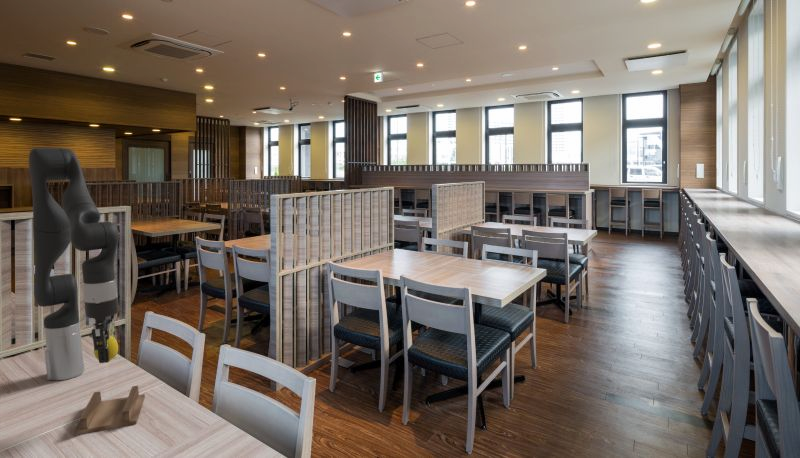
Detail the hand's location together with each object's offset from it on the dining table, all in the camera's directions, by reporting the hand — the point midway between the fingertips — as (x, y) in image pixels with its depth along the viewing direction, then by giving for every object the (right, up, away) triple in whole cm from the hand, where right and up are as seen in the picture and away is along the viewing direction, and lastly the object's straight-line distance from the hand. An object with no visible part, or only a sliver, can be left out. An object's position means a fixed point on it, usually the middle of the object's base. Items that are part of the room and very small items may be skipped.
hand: (106, 357), depth 124 cm
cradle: (0, -17, +2) cm, 17 cm away
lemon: (0, -2, 0) cm, 2 cm away
